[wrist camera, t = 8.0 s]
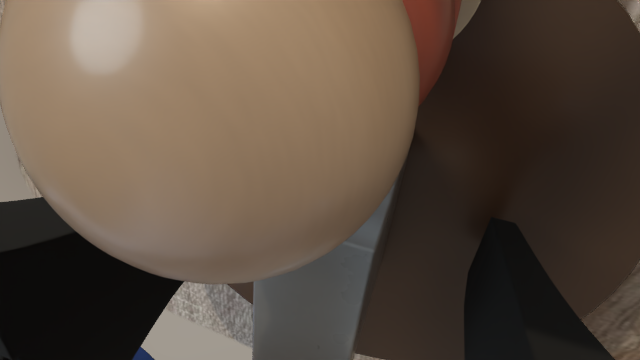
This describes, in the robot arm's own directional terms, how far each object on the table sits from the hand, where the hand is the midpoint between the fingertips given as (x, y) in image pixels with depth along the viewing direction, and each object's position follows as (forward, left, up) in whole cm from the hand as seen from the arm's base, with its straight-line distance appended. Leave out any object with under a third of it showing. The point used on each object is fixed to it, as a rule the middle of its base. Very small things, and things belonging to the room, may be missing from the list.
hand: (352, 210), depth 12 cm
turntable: (0, 0, -2) cm, 2 cm away
